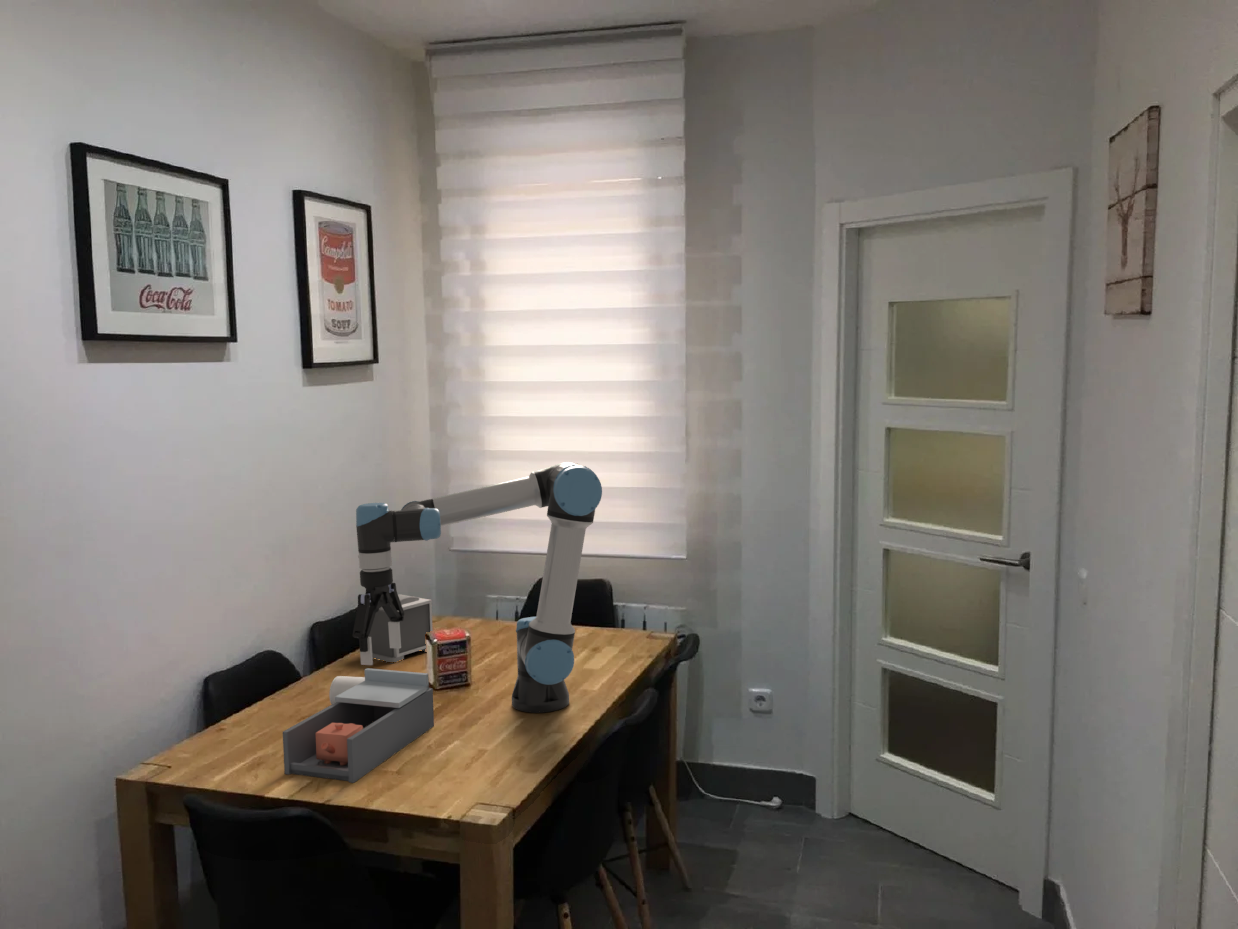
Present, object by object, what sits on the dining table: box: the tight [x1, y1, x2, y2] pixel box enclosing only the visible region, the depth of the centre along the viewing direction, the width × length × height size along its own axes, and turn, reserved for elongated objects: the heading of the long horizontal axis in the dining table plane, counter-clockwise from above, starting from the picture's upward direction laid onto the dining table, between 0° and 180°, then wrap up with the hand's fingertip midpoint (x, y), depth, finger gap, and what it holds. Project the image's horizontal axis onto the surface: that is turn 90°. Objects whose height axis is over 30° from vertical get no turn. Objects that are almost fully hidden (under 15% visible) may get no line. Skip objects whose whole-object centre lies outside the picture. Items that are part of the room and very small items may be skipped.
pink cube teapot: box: [315, 723, 364, 765], centre depth 215 cm, size 8×12×8 cm, turn 164°
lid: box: [335, 667, 430, 708], centre depth 233 cm, size 17×14×4 cm
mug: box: [328, 675, 365, 705], centre depth 256 cm, size 12×10×8 cm
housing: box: [282, 687, 435, 784], centre depth 225 cm, size 17×35×10 cm, turn 162°
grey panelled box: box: [369, 593, 434, 663], centre depth 304 cm, size 18×13×18 cm
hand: (381, 656), depth 231 cm, fingers open, 13 cm apart
